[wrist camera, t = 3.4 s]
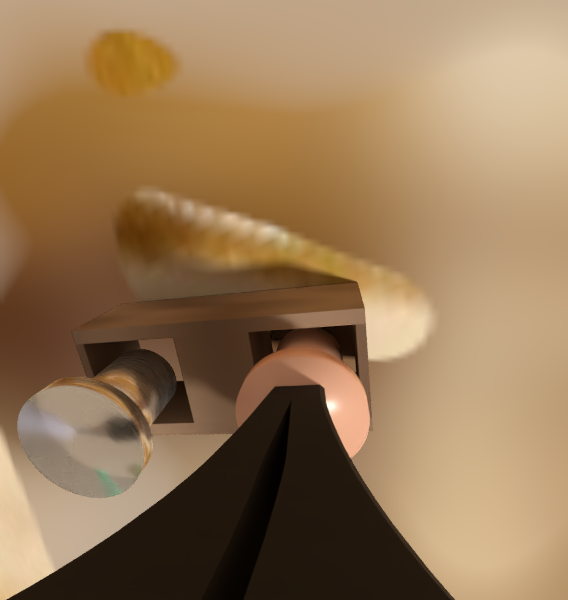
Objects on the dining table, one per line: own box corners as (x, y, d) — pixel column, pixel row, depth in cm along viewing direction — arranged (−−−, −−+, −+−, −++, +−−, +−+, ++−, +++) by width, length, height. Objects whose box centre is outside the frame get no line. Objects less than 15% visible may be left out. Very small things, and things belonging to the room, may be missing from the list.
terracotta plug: (268, 401, 13) (247, 472, 10) (253, 315, 12) (224, 362, 9) (362, 397, 13) (373, 472, 9) (355, 306, 12) (365, 353, 8)
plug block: (146, 392, 16) (106, 436, 13) (121, 303, 15) (71, 331, 12) (364, 382, 14) (372, 430, 11) (357, 281, 13) (364, 308, 10)
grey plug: (115, 420, 13) (44, 497, 10) (87, 336, 12) (-2, 391, 9) (201, 418, 13) (156, 498, 9) (180, 329, 12) (120, 385, 8)
